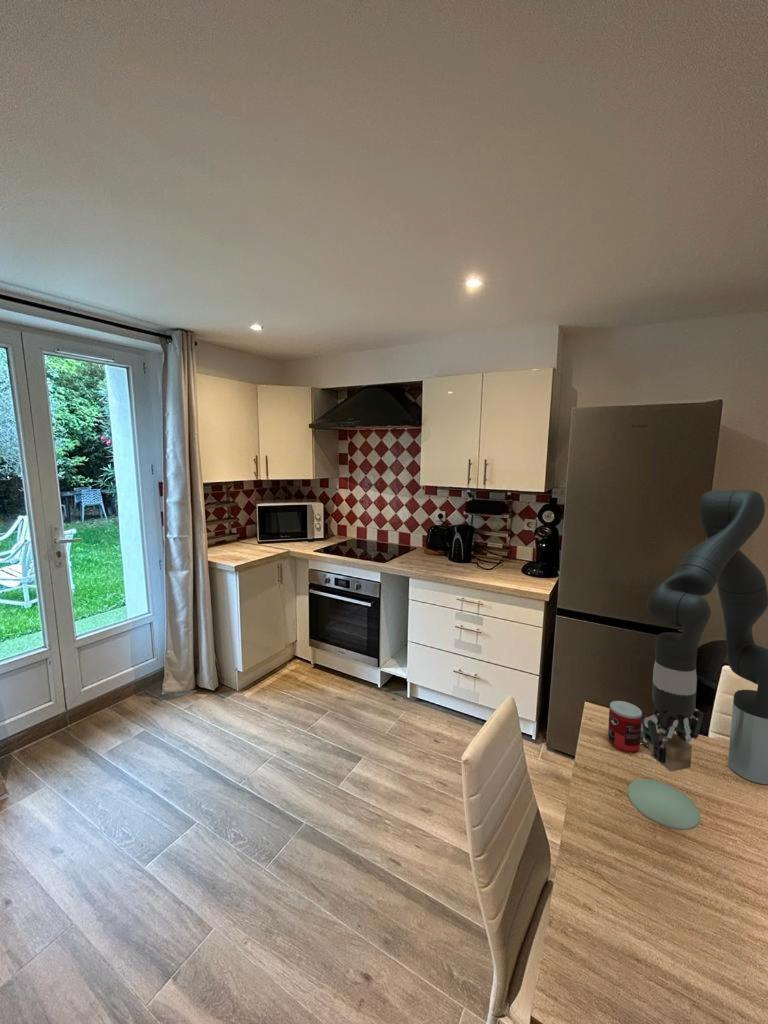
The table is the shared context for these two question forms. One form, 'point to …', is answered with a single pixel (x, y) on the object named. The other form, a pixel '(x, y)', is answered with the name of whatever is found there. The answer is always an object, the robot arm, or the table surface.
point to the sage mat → (663, 804)
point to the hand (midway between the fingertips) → (670, 758)
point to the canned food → (624, 726)
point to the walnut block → (676, 753)
